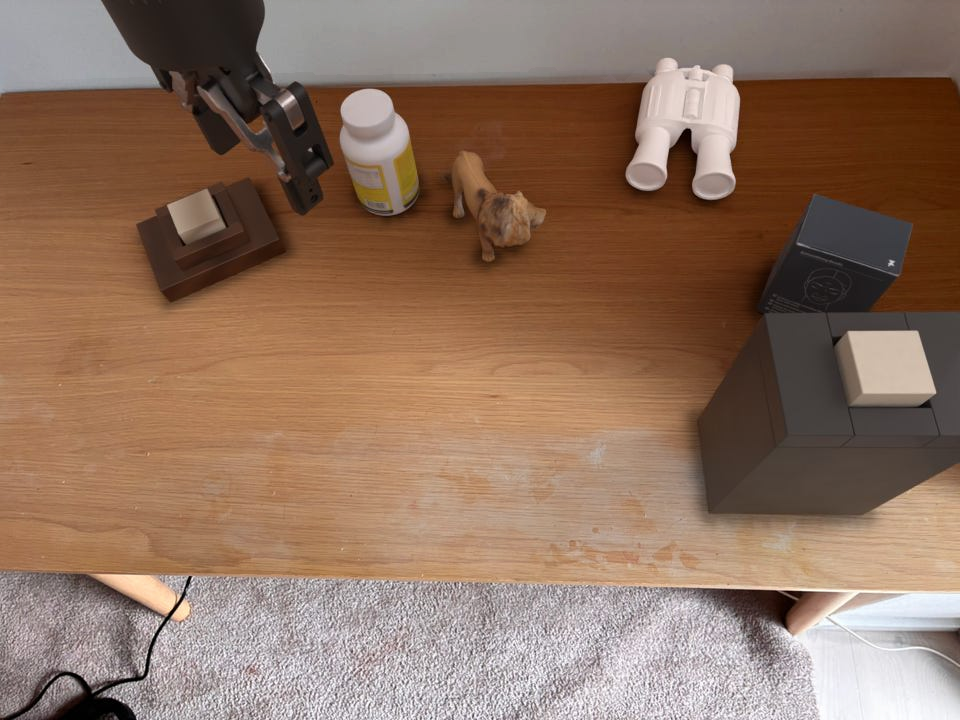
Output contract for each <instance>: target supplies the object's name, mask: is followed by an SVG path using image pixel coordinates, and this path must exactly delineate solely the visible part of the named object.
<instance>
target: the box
mask: <svg viewBox="0 0 960 720" xmlns="http://www.w3.org/2000/svg"><path fill="white" fill-rule="evenodd" d="M913 225H914V223H912V222H908V221H907V220H906V221H905V220H902V219H899V218H896V217H892V216H889V215H886V214H883V213H878V212H876V211H873V210H870V209H866V208H863V207H860V206H857V205H853V204H849V203H846V202H843V201H840V200H837V199H833V198H830V197H827V196H823V195H820V194H818V193H813V195H812V197H811V198H810V199H809V201H808V204H807V205H806V207H805V209H804V211H803V212H802V214H801V215H800V217H799V219H798V221H797V223H796V225H795V226H794V228H793V230H792V232H791V233H790V235H789V237H788V239H787V240H786V242H785V244H784V246H783V248H782V249H781V251H780V253H779V254H778V256H777V258H776V260H775V261H774V263H773V265H772V268H771V271H770V273H769V276H768V279H767V281H766V283H765V287H764V290H763V291H762V294H761V297H760V300H759V303H758V304H757V308H756V311H757V312H758V313H761V314H763V315H764V314H765V313H845V312H870V311H871V309H873V307H874V306H875V305H876V303H878V301H879V300H880V299H881V298H882V297H883V295H885V293H886V292H887V291H888V290H889V288H890V287H891V286H892V285H893V284H894V283H895V282H896V280H897V279H898V278H899V277H900V275H901V274H902V269H903V264H904V261H905V257H906V253H907V249H908V245H909V241H910V238H911V233H912V230H913Z"/></svg>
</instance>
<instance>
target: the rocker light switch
mask: <svg viewBox="0 0 960 720" xmlns="http://www.w3.org/2000/svg"><path fill="white" fill-rule="evenodd" d="M204 189H208V191H209V193H210V194H211V196H212V198H213V199H214V201H215V203H216V206H217V208H218V210H219V212H220V215H221V217H222V219H223V221H224V224H225V226H226V228H225V229H223V230H220V231H218V232H216V233H213V234H211V235H209V236H206V237H204V238H202V239H199V240H197V241H195V242H192V243H190V244H188V245H186V244H185V243H184V241H183V240H182V238H181V237H180V236H179V234H178V232H177V229H176V227H175V224H174V222H173V219H172V217H171V214H170V212H169V209H168V207H167V205H168V204H170V203H173V202H175V201H178V200H180V199H183V198H185V197H187V196H190V195H192V194H195V193H197V192H199V191H202V190H204ZM154 212H155V215H154V216H152V217H150V218H147V219H145V220H142V221H140V222H138V223H136V224H135V226H136V229H137V231H138V235H139V237H140V239H141V242H142V245H143V247H144V250H145V253H146V256H147V258H148V261H149V264H150V267H151V269H152V272H153V276H154V278H155V280H156V283H157V286H158V289H159V291H160V292H161V294H162V295H163V296H164V297H165V298H166V299H167V300H168V302H169V303H173V302H175V301H178V300H180V299H182V298H185V297H187V296H189V295H192V294H193V293H197V292H198V291H201V290H203V289H205V288H207V287H209V286H212V285H214V284H217V283H218V282H221V281H223V280H226V279H228V278H230V277H232V276H234V275H237V274H239V273H241V272H244V271H246V270H248V269H250V268H252V267H256V266H257V265H260V264H262V263H264V262H266V261H268V260H271V259H273V258H275V257H277V256H280V255H283V254H284V253H286V249H285V247H284V245H283V243H282V240H281V239H280V236H279V234H278V232H277V230H276V228H275V226H274V224H273V221H272V219H271V217H270V216H269V214H268V212H267V209H266V208H265V206H264V203H263V200H262V199H261V197H260V195H259V193H258V190H257V189H256V187H255V184H254V183H253V181H252V179H251V178H250V177H249V176H248V177H246V178H243V179H240V180H238V181H236V182H233V183H231V184H228V185H225V184H224V183H223V181H220V182H217V183H215V184H212V185H209V186H208V187H205V188H203V189H200V190H198V191H195V192H193V193H191V194H188V195H186V196H184V197H181V198H179V199H176V200H174V201H171V202H169V203H166V204H164V205H161V206H160V207H157V208H155V209H154Z"/></svg>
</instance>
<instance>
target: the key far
mask: <svg viewBox="0 0 960 720" xmlns="http://www.w3.org/2000/svg"><path fill="white" fill-rule="evenodd" d="M203 189H204V190H203ZM203 189H201V190H202V191H200V190H198V191H199V192H198V191H196V192H197V193H195V192H194V193H195V194H193V193H191V194H192V195H191V194H189V195H190V196H188V195H186V196H187V197H186V196H184V197H185V198H183V197H182V198H183V199H181V198H179V199H180V200H178V199H177V200H178V201H176V200H174V201H175V202H174V201H172V202H173V203H171V202H169V203H170V204H169V203H167V204H168V205H167V207H168V209H169V212H170V214H171V217H172V219H173V222H174V224H175V227H176V229H177V232H178V234H179V236H180V237H181V238H182V240H183V241H184V243H185V244H186V245H188V244H190V243H192V242H195V241H197V240H199V239H202V238H204V237H206V236H209V235H211V234H213V233H216V232H218V231H220V230H223V229H225V228H226V226H225V224H224V221H223V219H222V217H221V215H220V212H219V210H218V208H217V206H216V203H215V201H214V199H213V198H212V196H211V194H210V193H209V191H208V189H205V188H203Z"/></svg>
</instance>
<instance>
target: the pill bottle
mask: <svg viewBox="0 0 960 720" xmlns="http://www.w3.org/2000/svg"><path fill="white" fill-rule="evenodd" d="M340 116H341V119H342V120H341V121H342V124H343V125H342V127H341V130H340V131H339V132H340V133H339V145H340V149H341V152H342V155H343V157H344V160H345V164H346V167H347V170H348V173H349V176H350V178H351V181H352V184H353V187H354V191H355V194H356V197H357V199H358V201H359V203H360V205H361V207H363V208H364V209H365V210H367V211H368V212H369V213H371V214H373V215H377V216H383V217H388V216H394V215H399V214H401V213H403V212H405V211H407V210H408V209H409V208H411V207H412V206H413V205H414V204H415V203H416V202H417V199H418V197H419V194H420V180H419V175H418V171H417V170H418V169H417V165H416V160H415V156H414V151H413V146H412V140H411V135H410V131H409V127H408V125H407V123H406V121H405V119H403V117H402V116H400V114H398V113H397V112H396V111H395V107H394V104H393V100H392V99H391V97H390V96H389V95H388V94H387V93H386V92H384V91H382V90H380V89H376V88H363V89H360V90H356V91H354V92H352V93H351V94H349V95H348V96H347V97H345V99H344V100H343V101H342V103H341V106H340Z"/></svg>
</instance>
